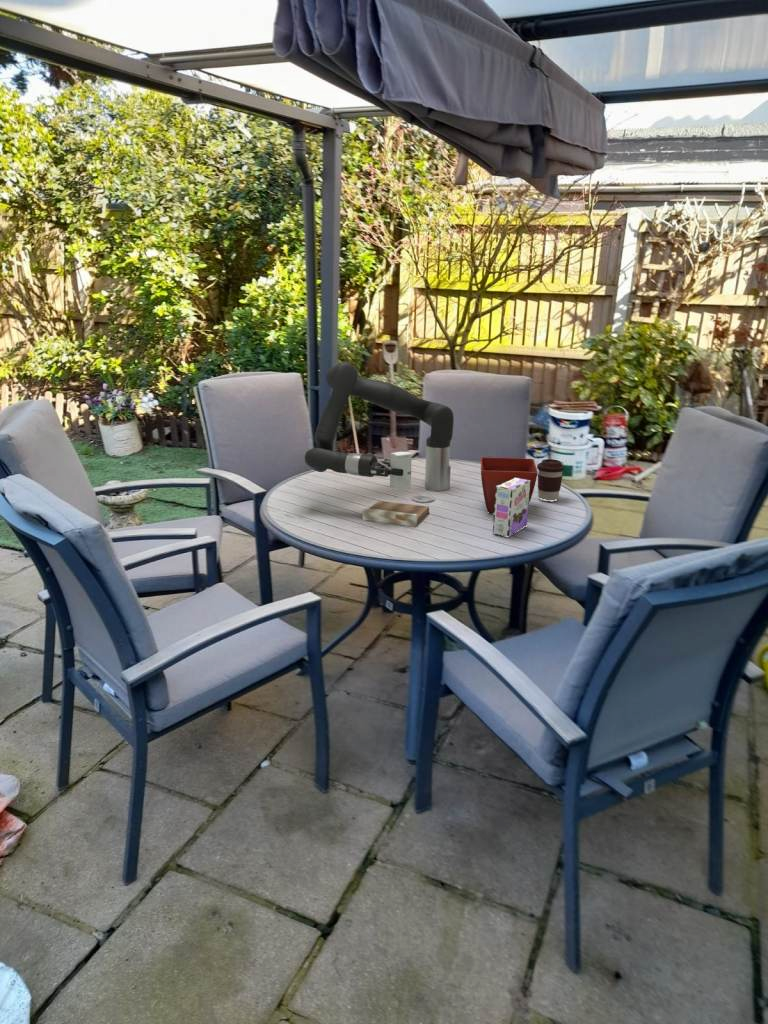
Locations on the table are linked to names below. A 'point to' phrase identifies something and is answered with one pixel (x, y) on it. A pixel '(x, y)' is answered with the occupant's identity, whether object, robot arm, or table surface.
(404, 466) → the skincare box
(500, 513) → the candy box
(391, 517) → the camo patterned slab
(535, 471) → the plant pot
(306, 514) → the table surface
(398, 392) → the robot arm
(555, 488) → the coffee cup
